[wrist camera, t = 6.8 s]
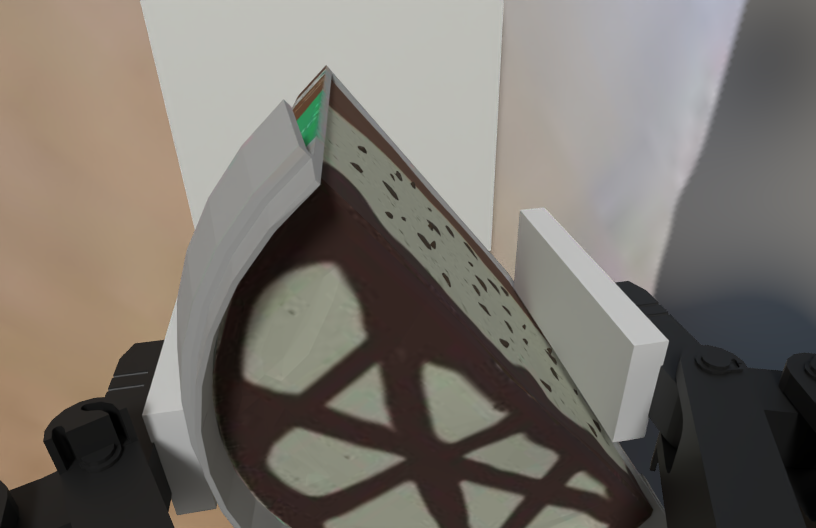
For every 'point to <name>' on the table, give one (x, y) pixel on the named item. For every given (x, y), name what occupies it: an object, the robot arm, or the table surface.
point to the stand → (353, 65)
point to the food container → (375, 351)
